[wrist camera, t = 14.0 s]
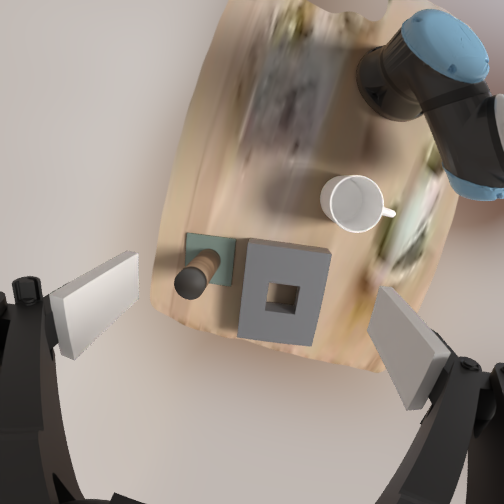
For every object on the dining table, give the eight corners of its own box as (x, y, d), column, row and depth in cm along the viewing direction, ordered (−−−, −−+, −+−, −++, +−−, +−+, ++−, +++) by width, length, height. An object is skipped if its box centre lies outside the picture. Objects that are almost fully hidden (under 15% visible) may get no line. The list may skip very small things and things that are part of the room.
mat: (187, 232, 52) (187, 232, 52) (236, 238, 52) (235, 239, 52) (185, 278, 55) (184, 279, 54) (231, 285, 54) (230, 286, 54)
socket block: (250, 237, 52) (248, 242, 48) (327, 248, 51) (331, 254, 47) (239, 327, 56) (237, 337, 52) (309, 335, 56) (311, 346, 52)
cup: (324, 170, 48) (336, 168, 38) (386, 187, 47) (410, 190, 37) (314, 216, 50) (323, 225, 40) (376, 231, 49) (397, 244, 40)
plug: (198, 247, 52) (174, 268, 40) (221, 250, 52) (204, 273, 40) (196, 269, 54) (173, 296, 41) (219, 273, 53) (202, 301, 41)
